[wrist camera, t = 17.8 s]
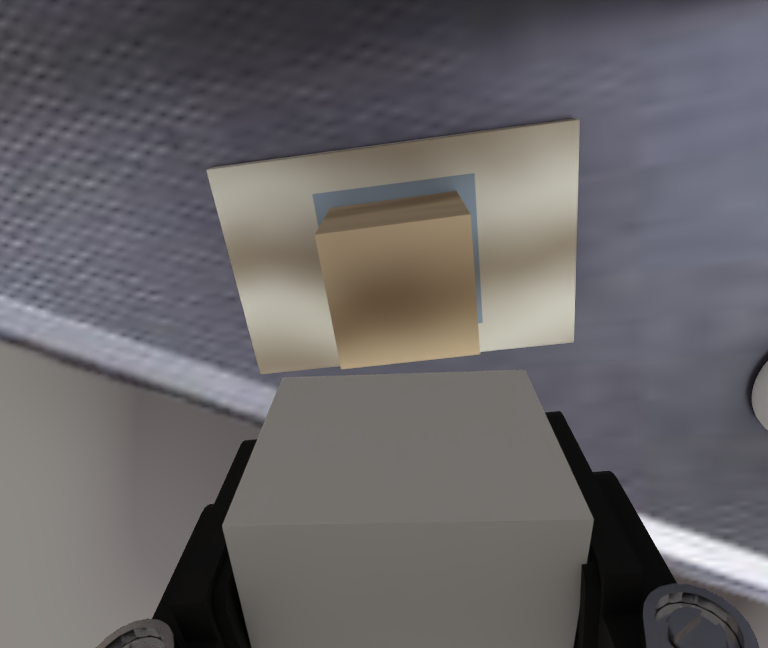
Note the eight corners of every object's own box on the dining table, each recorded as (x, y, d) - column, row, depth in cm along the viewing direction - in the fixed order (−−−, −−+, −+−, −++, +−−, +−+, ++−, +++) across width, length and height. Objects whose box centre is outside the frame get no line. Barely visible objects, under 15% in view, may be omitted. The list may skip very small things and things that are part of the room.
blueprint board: (213, 167, 24) (205, 170, 24) (572, 118, 23) (580, 119, 22) (264, 365, 29) (260, 374, 28) (567, 333, 28) (574, 342, 27)
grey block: (282, 377, 11) (221, 526, 7) (524, 369, 10) (594, 519, 7) (309, 551, 13) (272, 736, 9) (511, 548, 12) (559, 737, 9)
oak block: (330, 207, 24) (314, 234, 20) (456, 190, 24) (470, 214, 19) (350, 322, 27) (341, 369, 22) (465, 308, 26) (480, 354, 22)
